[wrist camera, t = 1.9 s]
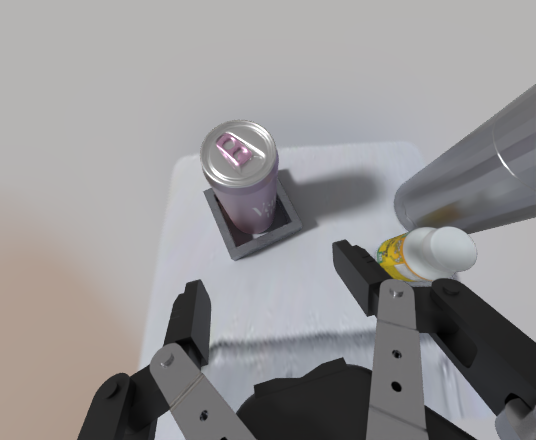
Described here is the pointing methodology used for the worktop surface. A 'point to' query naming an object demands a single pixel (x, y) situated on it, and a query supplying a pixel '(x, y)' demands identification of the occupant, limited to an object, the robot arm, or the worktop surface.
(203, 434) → the robot arm
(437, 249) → the supplement bottle
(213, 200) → the collar
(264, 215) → the beverage can
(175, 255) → the worktop surface
